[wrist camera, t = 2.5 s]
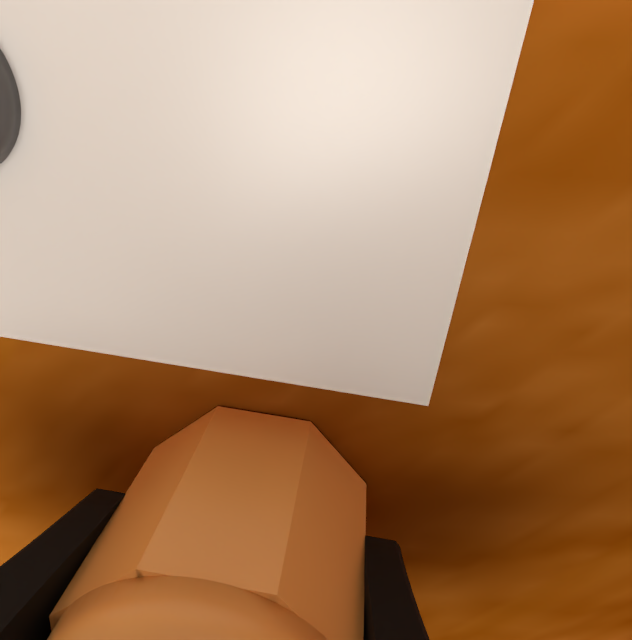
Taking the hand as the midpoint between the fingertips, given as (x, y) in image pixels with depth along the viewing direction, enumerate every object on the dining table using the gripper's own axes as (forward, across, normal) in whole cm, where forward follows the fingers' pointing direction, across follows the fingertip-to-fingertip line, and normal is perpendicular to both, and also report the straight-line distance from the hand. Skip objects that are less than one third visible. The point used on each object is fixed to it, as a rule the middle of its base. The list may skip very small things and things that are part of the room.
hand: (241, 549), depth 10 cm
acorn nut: (+1, 0, 0) cm, 1 cm away
